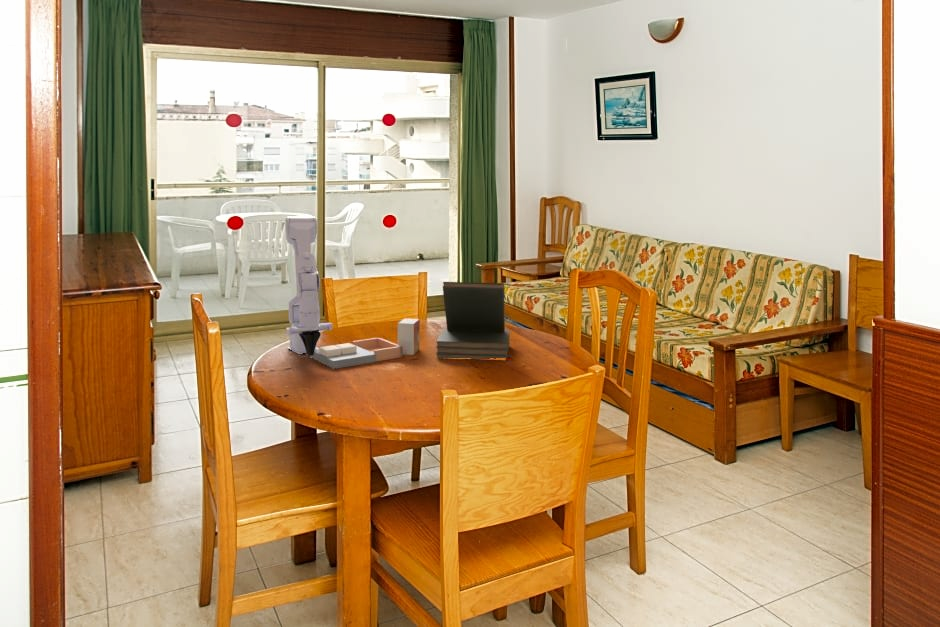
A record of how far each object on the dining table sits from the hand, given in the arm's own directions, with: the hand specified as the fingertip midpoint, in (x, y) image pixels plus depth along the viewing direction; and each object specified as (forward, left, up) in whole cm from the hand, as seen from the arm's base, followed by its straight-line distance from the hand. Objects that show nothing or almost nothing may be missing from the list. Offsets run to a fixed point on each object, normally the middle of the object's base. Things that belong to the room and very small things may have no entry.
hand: (310, 354), depth 245 cm
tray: (0, +24, -3) cm, 24 cm away
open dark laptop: (+16, +52, -4) cm, 54 cm away
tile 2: (0, +12, -1) cm, 12 cm away
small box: (+3, +34, -3) cm, 34 cm away
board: (0, +11, -3) cm, 12 cm away
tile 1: (0, +7, -1) cm, 7 cm away
